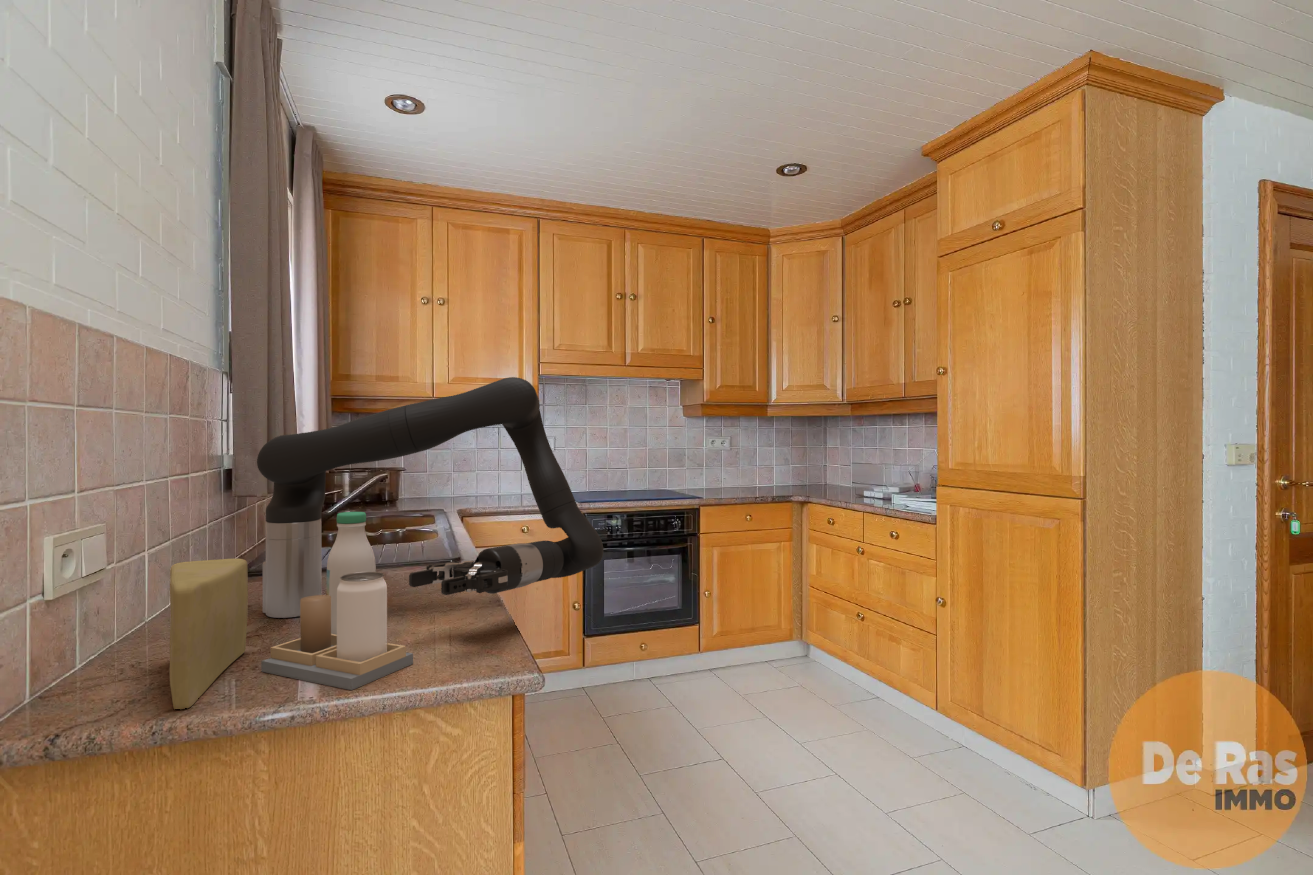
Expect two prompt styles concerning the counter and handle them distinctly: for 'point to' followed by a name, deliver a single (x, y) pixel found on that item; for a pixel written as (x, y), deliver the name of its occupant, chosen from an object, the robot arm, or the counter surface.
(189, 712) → the counter surface
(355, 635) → the can
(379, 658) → the socket board
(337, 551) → the milk bottle
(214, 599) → the cheese
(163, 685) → the counter surface
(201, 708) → the counter surface
